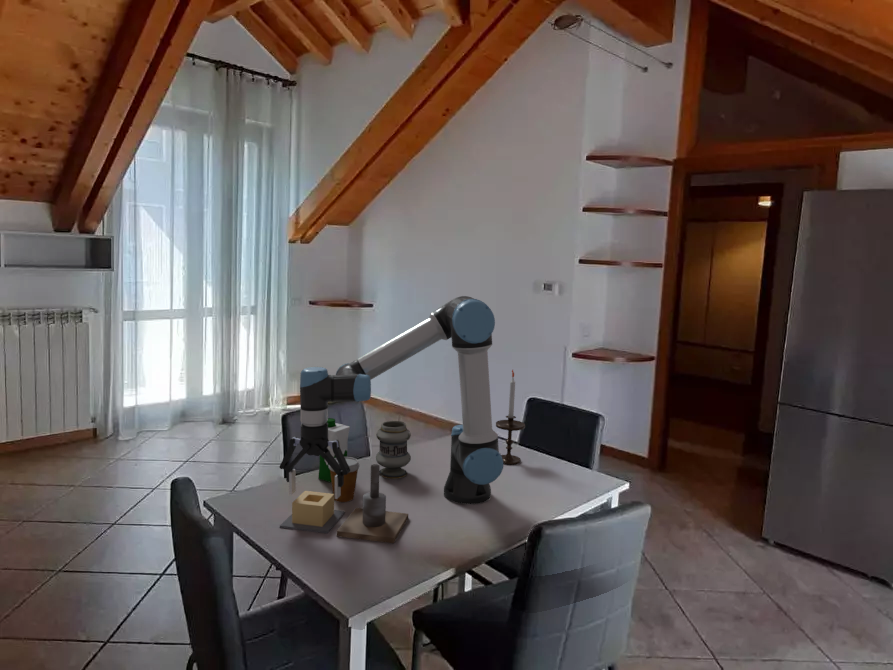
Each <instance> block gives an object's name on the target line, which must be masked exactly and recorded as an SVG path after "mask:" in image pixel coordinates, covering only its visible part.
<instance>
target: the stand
mask: <svg viewBox="0 0 893 670" xmlns="http://www.w3.org/2000/svg"><path fill="white" fill-rule="evenodd" d="M380 467H381V465H379V464H378V463H376V464H371V465H370V491H369V492H367V493H365V494H363V495H362V507H355V508H354V509H353V510H352V512H351V513H350V514H349V515H348V517H347V518H346V519H345V520H344V522H343V523H342V524H341V525H340V527H338V529H337V530H336V537H340V538H347V539H357V540H363V541H371V542H380V543H388V544H394V543H395V542H396V540H397V539H398V537H399V536H400V534H401V532H402V530H403V528H404V526H405V525H406V523H407V522H408V520H409V513H405V512H396V511H388V510H386V509H387V507H386V506H387V496H386V494H385V493H382V492H380V475H379V471H380V470H381V469H380Z"/></svg>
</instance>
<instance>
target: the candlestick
mask: <svg viewBox="0 0 893 670" xmlns="http://www.w3.org/2000/svg"><path fill="white" fill-rule="evenodd" d="M511 372H512V373H511V377H512V379H511V380H510V382H509V397H508V415H505V418H507V419H500V420H496V422H495V427H496V428H497V429H500V430H503V431H507V439H506V440H505V444H506V447H505V449H506V450H507V451H506V454H501V456H502V459H503V466H504V465H505V466H506V465H507V466H517V465H519V464H521V461H522V460H521V458H520V457H519V456H516V455H512V453H511V452H512V450H513V447H512V445H513V444H514V441H513V440H512V437H513V436H512V435H513V434H512V433H513V432H514V431H515V432H517V431H523V430H525V428H526V424H525V422H523V421H520V420H515V419H516V418H517V416H515V415H514V412H515V411H514V410H515V397H516V395H515V393H516V392H515V391H516V381H515V378H514V377H515V372H514V369H512V370H511Z"/></svg>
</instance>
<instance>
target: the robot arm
mask: <svg viewBox="0 0 893 670" xmlns="http://www.w3.org/2000/svg"><path fill="white" fill-rule="evenodd" d="M495 324H496V319H495V315H494V313H493V310H491V307H489V305H488V304H487V303H485V302H484V301H482V300H480V299H478V298H473V297H471V296H466V295H462V296H458V297H455V298H453V299H450V300H449V301H448V302H447V303H445V304H444V305H441V306H440V307H438V308H437V309H436V310H434V311H432V312H430V314H429V317H428V318H427V319H424V320H423V321H421V322H420V323H419V322H418V324H415V325H414V326H413V327H410V328H409V329H407V330H405V331H404V332H402V333H400V334H399V335H397V336H394V337H393V338H392V339H390V340H388V341H386V342H384V343H383V344H381V345H379V346H377V347H376V348H375V349H372V350H371V351H369V352H367V353H366V354H364V355H362V356H360V357H358V358H357V359H356V360H353V361H352V362H350V363H349V362H348V363H344V364H342V365H341V366H339V368H337V370H336V373H335V374H329V372H328V371H329V370H328V369H327V368H326V367H321V366H319V367H318V366H311V367H305V368H303V369H302V370H301V372H300V377H299V378H300V379H299V380H300V381H299V398H300V421H299V422H300V423H301V424H300V438H298V436H296V435H295V436H292V438H290V440H289V445H288V448H287V450H286V452H285V455H284V457H283V459H282V460H281V462H280V465H279V469H280V470H283V471H285V474H286V475H285V477H286V479H285V480H286V483H288V485H289V486H288V487H289V489H288V490H289V491H288V493H289V495H291V496H292V495H293V494H294V493H295V492H296V491H297V487H296V484H297V483H296V481H297V478H296V477H297V475H296V474H297V473H296V469H295V466H296V465H297V464H298V463H299V461H301V459H302V458H303V457H304V456H305V455H308V456H315V457H320V455H321V457H322V458H324V459H325V460H326V461H327V463H328V464H329V465H330V467H331V468H332V469H333V470H334V472H335V473H336V474H337V475H336V476H335V499H338V498H339V497H340V496H341V487H342V486H343V484H344V475H347V474H348V473H349V472H350V468H349V466H348V464H347V462H346V459H345V457H344V455H343V453H342V451H341V449H340V445H339V440H335V441H329V440H328V423H327V421H328V418H329V413H328V412H329V408H328V407H329V403H335V402H336V403H337V402H338V403H340V402H341V403H343V402H357V403H359V402H366V401H369V400H370V399H371V397H372V382H371V381H372V380H373V379H375V378H377V377H378V376H381V375H382V374H384V373H386V372H387V371H389V370H391V369H392V368H394V367H396V366H397V365H399V364H401V363H403V362H405V361H406V360H407V359H409V358H411V357H414V356H415V355H416V354H419V353H420V352H422V351H423V350H425V349H427V348H429V347H431V346H432V345H434V344H435V343H438V342H440V341H441V340H443V341H448V340H449V339H451V348H452V349H453V350H455V351H456V352H457V357H458V358H457V359H458V373H459V387H460V404H461V418H462V419H461V420H462V424H457V425H454V426H453V427H452V429H451V434H450V438H451V441H450V463H449V464H450V468H449V473H448V476H447V478H446V481H445V484H444V486H443V496H444V498H446V499H447V500H448V501H450V502H452V503H456V504H461V505H462V504H463V505H478V504H483V503H486V502H488V501H489V500H490V499H491V497H492V488H491V485H490V484H491V483H493V482H495V481H496V480H497V479H498V478H499V477H500V476H501V474H502V472H503V469H504V464H503V459H502V456H501V455H502V453H500V448H499V435H498V433H497V432H496V431H494V429H493V422H492V421H493V419H492V403H491V388H490V373H489V372H490V370H489V356H488V350H490V348H491V347H492V346H493V333H494V330H495ZM298 445H300V447H301V448H302V449H301V450H300V451H299V452H298V454H297V455H296V456H295V457H294V458H293V460H292V461H291V458H292V456H293V454H294V451H296V450H295V449H296V447H297V446H298ZM328 446H330V447H331V449H333V452H334V455H335V457H336V459H337V461H338V462H337V461H336V460H335V459H334V457H333V456H332V455H331V453H330V451H329V450H328V448H327V447H328ZM324 452H325V453H324ZM289 461H291V462H290V463H289ZM288 463H289V464H288ZM338 463H339V464H338Z"/></svg>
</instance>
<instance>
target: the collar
mask: <svg viewBox="0 0 893 670" xmlns="http://www.w3.org/2000/svg"><path fill="white" fill-rule="evenodd" d="M291 504H292V505H291V514H292V523H296V524H305V525H313V526H321V527H323V526H324V524H325V523H326V522H327V521H328V520H329V519H330V518H331V516H332V515H333V514H334V510H335V500H334V494H333V493H328V492H319V491H310V490H304V491H303V492H302V493H301V494H299V496H298V497H297V498H295V500H293V501H292V502H291Z"/></svg>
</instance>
